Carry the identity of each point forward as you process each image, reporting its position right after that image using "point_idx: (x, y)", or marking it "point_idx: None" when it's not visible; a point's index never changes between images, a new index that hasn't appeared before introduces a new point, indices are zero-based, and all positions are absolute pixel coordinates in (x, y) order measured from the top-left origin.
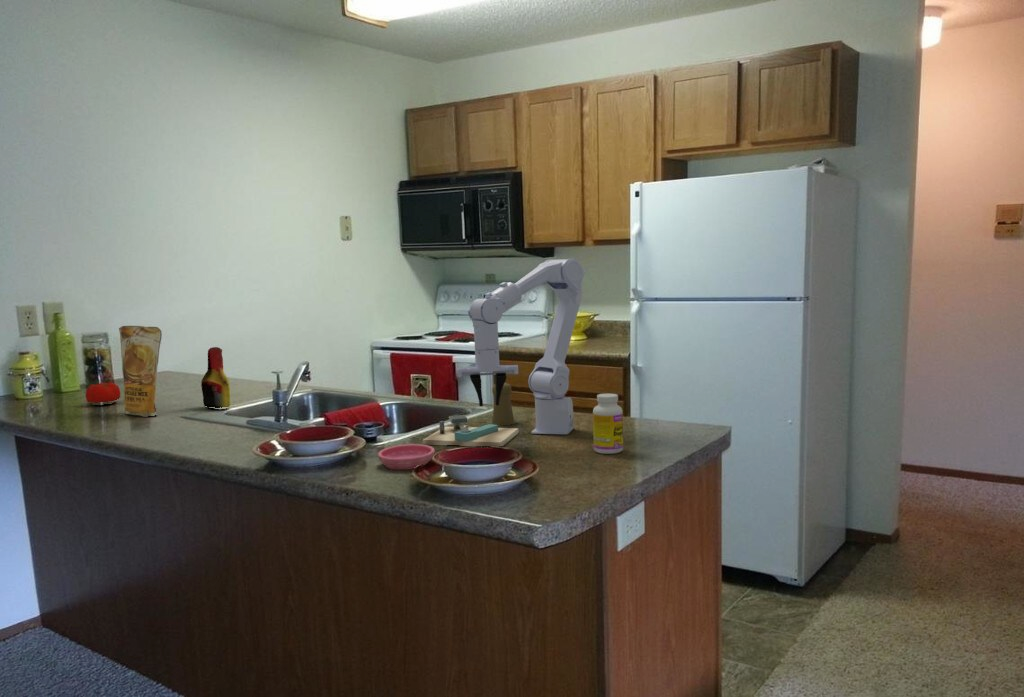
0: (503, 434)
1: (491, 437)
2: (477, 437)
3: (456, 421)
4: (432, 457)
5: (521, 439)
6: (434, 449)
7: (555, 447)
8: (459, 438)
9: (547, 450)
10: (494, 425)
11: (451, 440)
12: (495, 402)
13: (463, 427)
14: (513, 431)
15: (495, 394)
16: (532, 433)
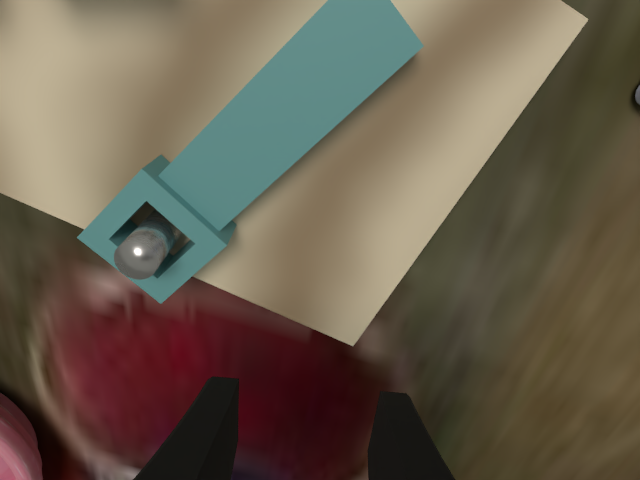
0: (416, 181)
1: (325, 231)
2: None
3: None
4: (41, 468)
5: (507, 209)
6: (29, 476)
7: (580, 399)
8: None
9: (525, 427)
10: (392, 51)
11: (82, 221)
12: (382, 402)
13: (126, 270)
14: (509, 116)
15: (402, 474)
16: (637, 101)
